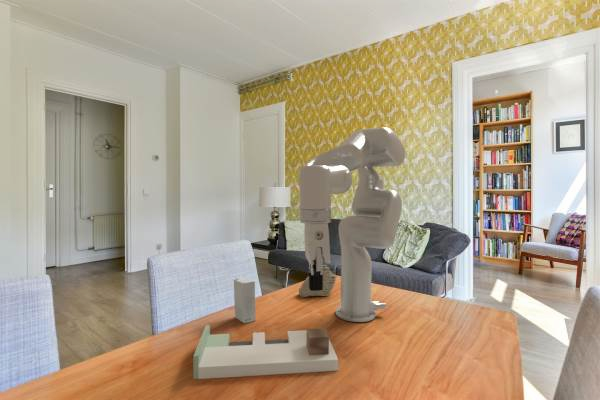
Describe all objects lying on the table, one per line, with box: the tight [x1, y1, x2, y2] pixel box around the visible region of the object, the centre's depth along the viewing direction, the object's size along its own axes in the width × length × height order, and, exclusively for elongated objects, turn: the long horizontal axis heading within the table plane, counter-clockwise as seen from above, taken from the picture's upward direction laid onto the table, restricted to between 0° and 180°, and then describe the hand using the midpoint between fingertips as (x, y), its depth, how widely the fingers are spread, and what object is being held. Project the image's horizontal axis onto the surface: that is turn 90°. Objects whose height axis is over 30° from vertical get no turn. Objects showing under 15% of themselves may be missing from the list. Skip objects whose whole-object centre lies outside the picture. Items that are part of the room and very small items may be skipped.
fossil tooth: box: [298, 264, 337, 298], centre depth 121 cm, size 12×6×15 cm
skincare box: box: [233, 276, 257, 324], centre depth 97 cm, size 6×4×12 cm
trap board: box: [192, 324, 339, 380], centre depth 76 cm, size 31×15×5 cm, turn 97°
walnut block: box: [306, 327, 330, 355], centre depth 74 cm, size 4×4×4 cm
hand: (315, 289), depth 79 cm, fingers closed
